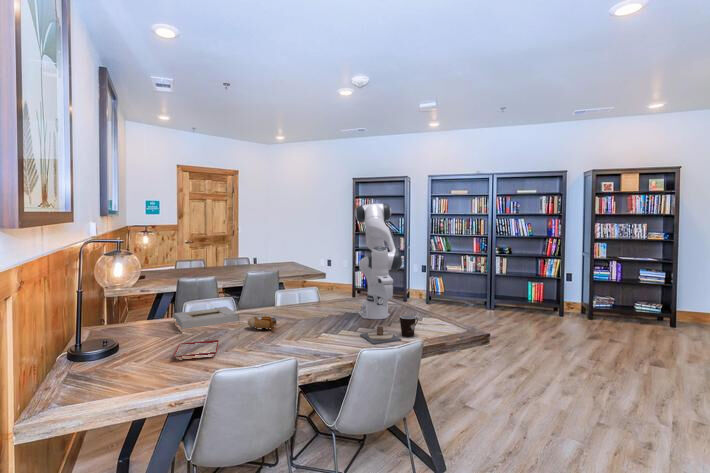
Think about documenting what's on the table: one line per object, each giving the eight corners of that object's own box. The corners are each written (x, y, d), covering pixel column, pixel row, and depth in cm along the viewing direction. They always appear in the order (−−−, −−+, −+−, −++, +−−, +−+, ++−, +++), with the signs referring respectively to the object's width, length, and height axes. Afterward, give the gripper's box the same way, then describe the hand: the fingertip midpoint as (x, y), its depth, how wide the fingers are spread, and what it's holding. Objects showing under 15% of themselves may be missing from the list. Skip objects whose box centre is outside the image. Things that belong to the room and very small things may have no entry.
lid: (363, 334, 206) (363, 325, 206) (385, 331, 212) (385, 322, 211) (374, 341, 194) (374, 331, 194) (397, 338, 200) (397, 328, 200)
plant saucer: (172, 363, 169) (172, 355, 169) (179, 349, 186) (179, 342, 186) (217, 359, 174) (216, 351, 174) (219, 346, 191) (219, 339, 191)
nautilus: (286, 332, 215) (261, 339, 206) (268, 322, 231) (244, 327, 222) (286, 318, 214) (260, 324, 205) (268, 309, 230) (244, 314, 221)
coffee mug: (403, 338, 202) (403, 319, 202) (397, 333, 211) (397, 315, 210) (423, 336, 205) (423, 317, 205) (416, 332, 214) (417, 314, 213)
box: (181, 335, 210) (239, 325, 229) (180, 321, 210) (239, 312, 228) (172, 326, 229) (227, 317, 248) (172, 313, 229) (227, 305, 247)
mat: (359, 335, 207) (359, 334, 207) (386, 332, 214) (386, 330, 214) (373, 344, 193) (373, 343, 193) (401, 340, 199) (401, 339, 199)
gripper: (366, 276, 210) (366, 301, 210) (383, 281, 191) (384, 309, 192) (376, 275, 212) (376, 300, 213) (395, 280, 194) (395, 308, 194)
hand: (380, 304), depth 202 cm, fingers open, 8 cm apart
